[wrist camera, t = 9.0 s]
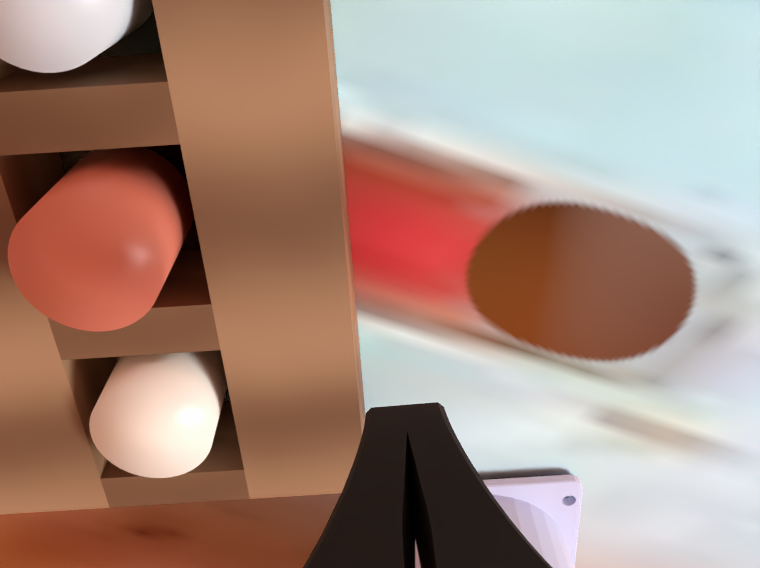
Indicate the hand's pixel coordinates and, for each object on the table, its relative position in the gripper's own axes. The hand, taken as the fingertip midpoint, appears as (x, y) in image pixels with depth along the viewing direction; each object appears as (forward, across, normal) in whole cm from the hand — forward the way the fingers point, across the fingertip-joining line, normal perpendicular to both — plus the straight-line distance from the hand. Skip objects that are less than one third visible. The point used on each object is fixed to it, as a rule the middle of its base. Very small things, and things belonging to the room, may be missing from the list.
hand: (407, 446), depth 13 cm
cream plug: (+10, +7, +4) cm, 13 cm away
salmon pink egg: (+9, +7, -2) cm, 12 cm away
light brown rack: (+10, +7, -2) cm, 13 cm away
